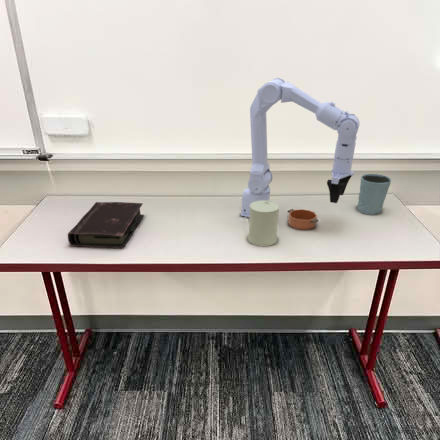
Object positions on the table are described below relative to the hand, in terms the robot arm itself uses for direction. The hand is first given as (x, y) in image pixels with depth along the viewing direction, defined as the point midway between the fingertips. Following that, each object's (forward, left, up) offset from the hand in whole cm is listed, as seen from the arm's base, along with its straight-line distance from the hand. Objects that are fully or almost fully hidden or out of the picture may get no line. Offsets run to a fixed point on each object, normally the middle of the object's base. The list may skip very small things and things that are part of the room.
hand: (336, 198), depth 139 cm
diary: (-67, -35, -10) cm, 76 cm away
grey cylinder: (+10, +19, -10) cm, 24 cm away
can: (-18, -20, -10) cm, 29 cm away
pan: (-10, -3, -10) cm, 14 cm away
